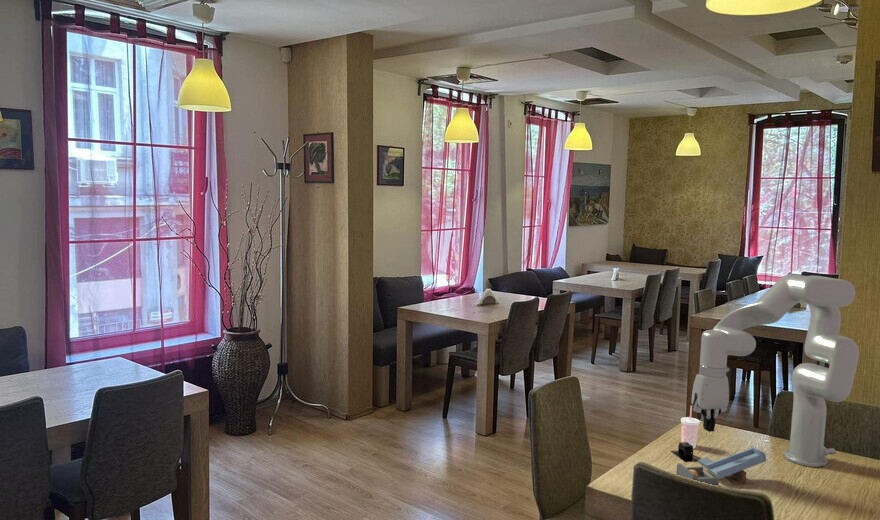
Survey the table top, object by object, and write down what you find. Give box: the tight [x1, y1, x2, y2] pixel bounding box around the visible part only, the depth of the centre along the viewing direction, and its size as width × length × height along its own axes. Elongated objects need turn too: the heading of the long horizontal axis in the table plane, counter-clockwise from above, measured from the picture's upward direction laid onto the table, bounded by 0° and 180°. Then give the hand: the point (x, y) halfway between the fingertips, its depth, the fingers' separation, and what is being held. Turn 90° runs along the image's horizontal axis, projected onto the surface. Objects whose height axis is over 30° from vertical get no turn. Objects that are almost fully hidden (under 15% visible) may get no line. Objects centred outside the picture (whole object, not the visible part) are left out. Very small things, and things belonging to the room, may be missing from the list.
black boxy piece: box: [670, 441, 699, 463], centre depth 218 cm, size 12×7×5 cm, turn 9°
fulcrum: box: [723, 470, 753, 486], centre depth 201 cm, size 6×7×4 cm
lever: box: [697, 446, 767, 480], centre depth 204 cm, size 16×11×3 cm
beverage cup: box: [680, 404, 701, 449], centre depth 227 cm, size 6×6×14 cm
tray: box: [676, 462, 720, 486], centre depth 199 cm, size 8×8×4 cm
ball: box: [690, 469, 698, 478], centre depth 199 cm, size 3×3×3 cm
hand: (708, 430), depth 206 cm, fingers closed
